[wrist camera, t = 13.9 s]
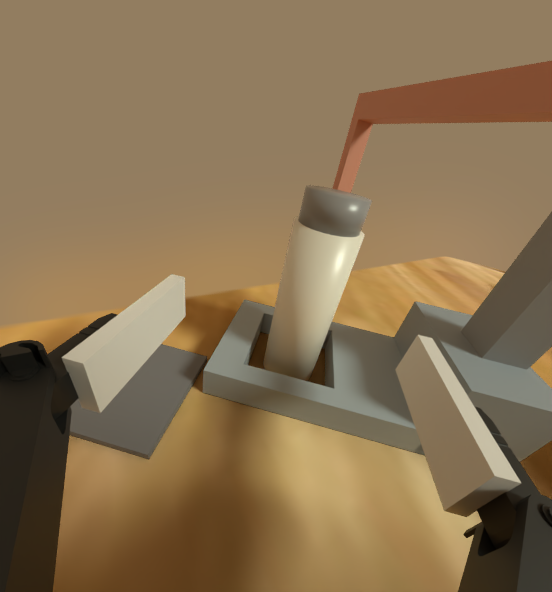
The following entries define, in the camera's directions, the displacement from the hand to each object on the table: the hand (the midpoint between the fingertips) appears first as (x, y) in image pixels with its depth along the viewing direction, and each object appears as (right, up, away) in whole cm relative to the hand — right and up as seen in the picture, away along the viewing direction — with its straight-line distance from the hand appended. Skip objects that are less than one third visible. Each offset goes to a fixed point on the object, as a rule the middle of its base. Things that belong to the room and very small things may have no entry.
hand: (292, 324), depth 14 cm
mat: (-12, -5, +4) cm, 13 cm away
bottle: (0, -5, +8) cm, 10 cm away
